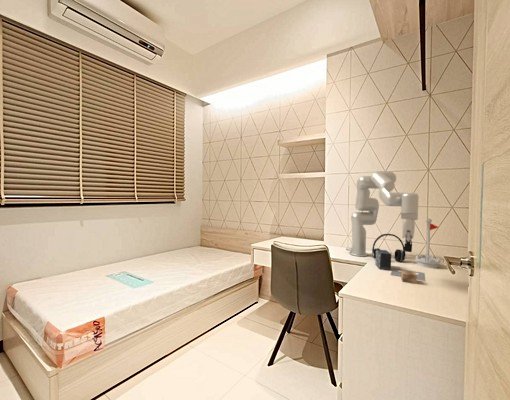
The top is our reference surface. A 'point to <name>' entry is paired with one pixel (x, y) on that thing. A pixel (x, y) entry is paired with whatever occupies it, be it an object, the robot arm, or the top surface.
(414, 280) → the walnut block
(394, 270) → the letter board
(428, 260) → the marker stand
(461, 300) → the top surface
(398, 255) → the headphones
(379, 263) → the small box
